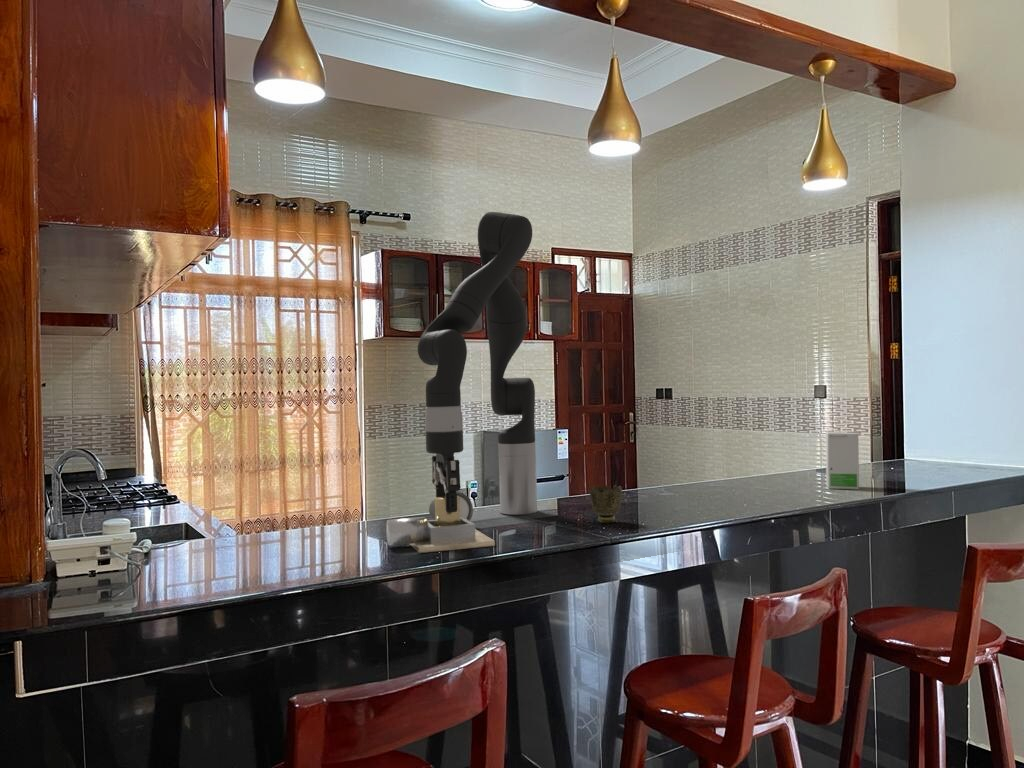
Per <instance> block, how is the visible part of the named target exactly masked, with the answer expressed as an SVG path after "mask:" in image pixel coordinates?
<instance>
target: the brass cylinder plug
mask: <svg viewBox="0 0 1024 768" xmlns="http://www.w3.org/2000/svg"><path fill="white" fill-rule="evenodd" d="M434 499H435V519H436V527H438V526H450V525H461V523H460V497H458V496H457V511H456V512H450V513H448V512H446V504H445V496H441V497H436V496H435V498H434Z"/></svg>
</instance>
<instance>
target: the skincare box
mask: <svg viewBox="0 0 1024 768" xmlns="http://www.w3.org/2000/svg"><path fill="white" fill-rule="evenodd" d="M824 434H825V477H826V478H825V482H826V483H825V485H826V487H827V489H833V490H835V489H836V490H838V489H839V490H859V489H860V467H859V465H860V464H859V459H860V458H859V449H860V448H859V433H857V432H842V431H841V432H840V431H838V432H837V431H831V432H830V431H827V432H825V433H824Z"/></svg>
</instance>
